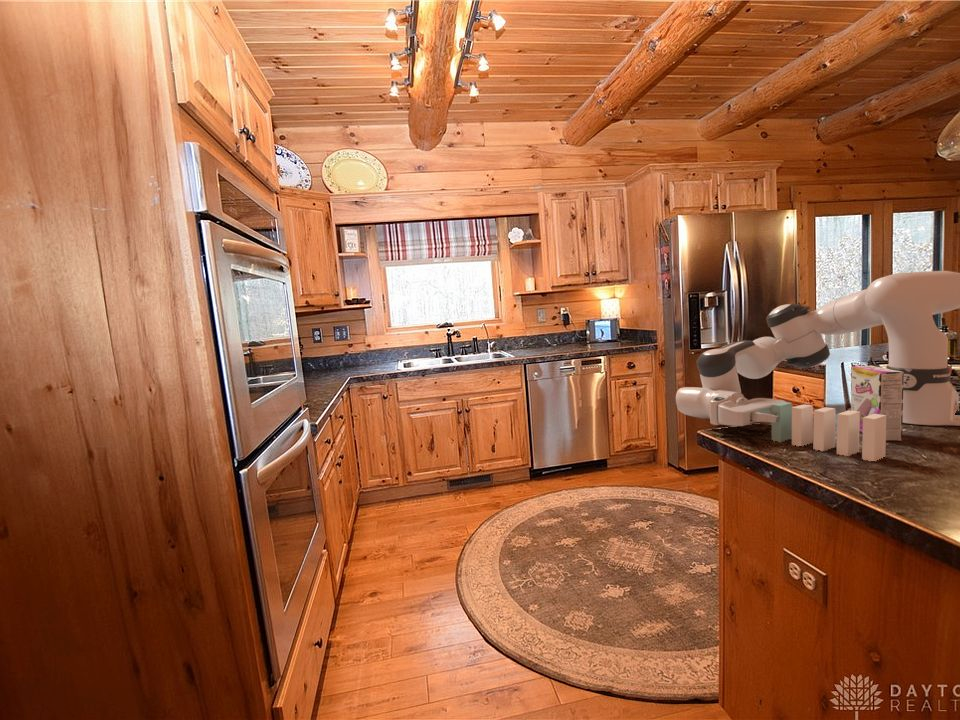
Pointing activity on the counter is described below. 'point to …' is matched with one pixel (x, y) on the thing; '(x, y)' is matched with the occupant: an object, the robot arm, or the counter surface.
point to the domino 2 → (802, 425)
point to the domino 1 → (782, 421)
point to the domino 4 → (848, 432)
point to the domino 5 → (874, 437)
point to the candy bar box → (879, 396)
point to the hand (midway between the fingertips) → (785, 416)
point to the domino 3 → (824, 429)
